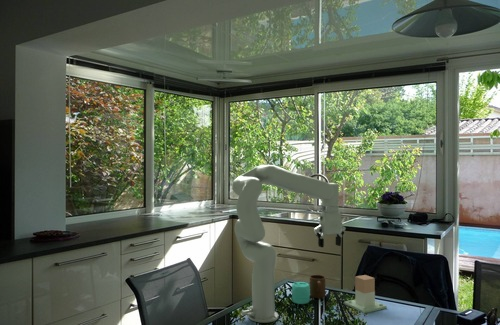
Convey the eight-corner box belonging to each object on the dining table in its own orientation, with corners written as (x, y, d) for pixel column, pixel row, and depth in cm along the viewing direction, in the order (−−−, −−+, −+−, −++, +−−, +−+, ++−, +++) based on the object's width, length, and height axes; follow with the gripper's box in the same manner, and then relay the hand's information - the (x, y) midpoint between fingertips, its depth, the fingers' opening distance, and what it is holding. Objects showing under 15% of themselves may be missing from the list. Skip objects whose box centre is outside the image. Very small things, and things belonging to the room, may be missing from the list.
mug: (328, 302, 187) (328, 282, 186) (311, 302, 187) (311, 282, 187) (324, 293, 199) (324, 274, 198) (308, 293, 199) (308, 274, 199)
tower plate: (364, 313, 172) (364, 297, 172) (344, 303, 184) (344, 288, 184) (386, 308, 178) (386, 292, 178) (365, 299, 190) (365, 284, 190)
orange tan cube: (364, 293, 177) (364, 280, 177) (355, 289, 182) (355, 276, 182) (374, 291, 180) (374, 278, 180) (365, 287, 185) (365, 274, 185)
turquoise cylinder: (309, 304, 184) (309, 287, 184) (292, 304, 185) (292, 286, 185) (309, 298, 192) (309, 281, 192) (292, 298, 193) (292, 281, 193)
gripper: (319, 210, 179) (318, 249, 179) (350, 209, 187) (349, 246, 186) (310, 209, 186) (309, 245, 186) (340, 208, 193) (339, 243, 193)
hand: (329, 246), depth 186 cm, fingers open, 9 cm apart
